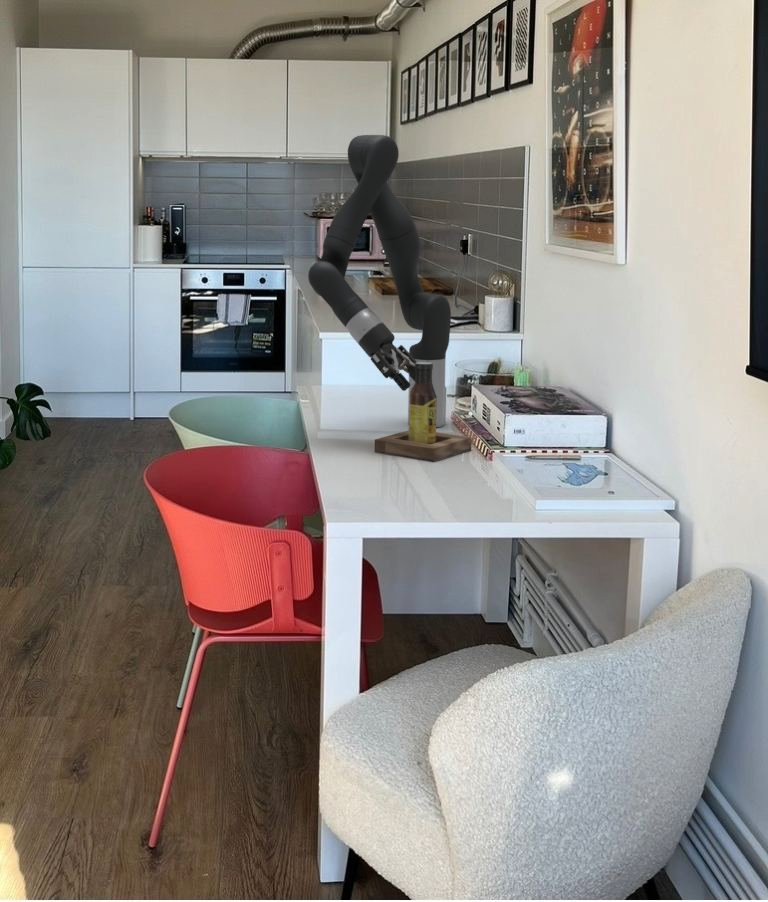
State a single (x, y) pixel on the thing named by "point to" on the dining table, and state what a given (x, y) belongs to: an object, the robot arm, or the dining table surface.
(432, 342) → the robot arm
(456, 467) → the dining table surface
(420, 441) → the sauce bottle
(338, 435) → the dining table surface
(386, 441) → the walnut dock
